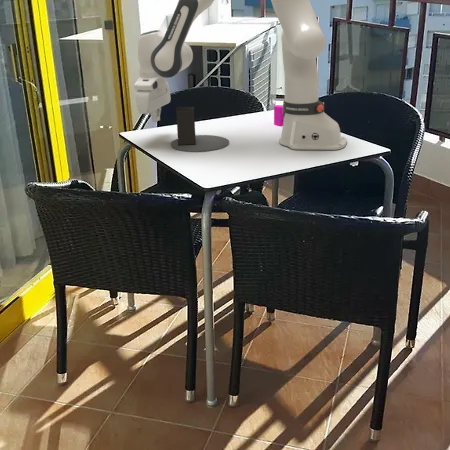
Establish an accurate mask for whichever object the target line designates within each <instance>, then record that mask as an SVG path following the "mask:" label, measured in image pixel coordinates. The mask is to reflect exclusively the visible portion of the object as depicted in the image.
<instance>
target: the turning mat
mask: <svg viewBox="0 0 450 450" xmlns="http://www.w3.org/2000/svg"><path fill="white" fill-rule="evenodd" d="M195 139H196V145H180V146H178V138H175V139H173V140H172V141H171V142H170V147H171V148H173V149H174V150H177V151H179V152H180V151H181V152H188V153H202V152H204V153H205V152H211V151H212V152H213V151H217V150H218V151H219V150H221V149H225V148H226V147H228V146H229V145H230V140H229V139H228V138H226V137H223V136H219V135H211V134H209V135H208V134H195Z"/></svg>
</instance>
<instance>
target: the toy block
mask: <svg viewBox="0 0 450 450" xmlns="http://www.w3.org/2000/svg"><path fill="white" fill-rule="evenodd" d="M283 121H284V117H283V105H274V106H273V124H274V126H276V127H277V126H278V127H283Z"/></svg>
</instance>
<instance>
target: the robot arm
mask: <svg viewBox="0 0 450 450" xmlns="http://www.w3.org/2000/svg"><path fill="white" fill-rule="evenodd" d="M270 1H271V4H272V9H273V11H274V13H275V15H276V18H277V19H278V21H279V23H280V26H281V29H282V32H281V48H282V50H281V53H282V54H281V55H282V63H283V64H282V66H283V71H284V72H283V74H284V100H283V102H282V103H283V104H282V107H283V117H284V121H283V126H282V129H281V130H282V131H281V134H280V135H281V136H280V138H279V144H280V145H282V146H285V147H287V148H290V149H292V150H310V151H311V150H313V151H314V150H316V151H317V150H323V151H324V150H326V151H327V150H328V151H331V150H332V151H337V150H340V149H343V148H345V147H346V146H347V144H348V140H347V139H348V138H346V137H345V136H341V128H340V125H339V123H338V122H337V121H336V120H334V119H333V118H331V116H329V115H328V114H327V113H325V102H324V101H323V102H322V101H321V100H319V82H320V75H319V72H318V66H317V58H318V57H320V56H321V55H322V54H323V52H324V51H325V47H326V37H325V35H324V33H323V30H322V28H321V25H320V23H319V21H318V18H317V15H316V13H315V11H314V8H313V6H312V4H311V1H310V0H270ZM214 2H215V0H178V1H177V5H176V7H175V10H174V11H173V14H172V17H171V19H170V22H169V23H168V26H167V29H166V31H165V33H164V32H163V31H162V30H159V29H158V30H150V31H147V32H142V33H141V34H140V35H139V36H138V41H137V58H138V62H139V70H138V71H139V72H138V73H139V77H138V78H137V80H136V81H135V83H134V84H133V85H134V86H133V87H134V90H135V91H136V92H135V98H136V99H135V100H136V101H135V102H136V109H137V111H138V113H139V114H143V115H148V114H150V117H151V122H152V123H157V122H158V121H161V113H162V107H164V106H166V105H168V104H169V103H171V99H172V97H171V89H170V85H169V83H168V81H167V79H168V78H173V77H175V76H176V75H178V73H180V72H181V71H184V70H185V69H187V68H188V67H190V65H191V64H192V62H193V60H194V52H193V51H194V50H193V49H192V47H191V46H190V45H189V44H188V43H187V42H186V39H187V37H188V34H189V32H190V29H191V27H192V26H193V23H194V22H195V21H196V19H197V18H198V17H199V15H201V14H202V13H203V12H204V11H206V10H207V9H209V8H210V7H211V6H212V4H213V3H214Z"/></svg>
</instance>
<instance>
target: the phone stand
mask: <svg viewBox="0 0 450 450" xmlns="http://www.w3.org/2000/svg"><path fill="white" fill-rule="evenodd" d="M175 109H176V110H175V111H176V127H177V129H176V131H177V139H178V146H180V145H196V139H195V135H196V122H195V121H196V120H195V106H179V107H178V106H177V107H176V108H175Z"/></svg>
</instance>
